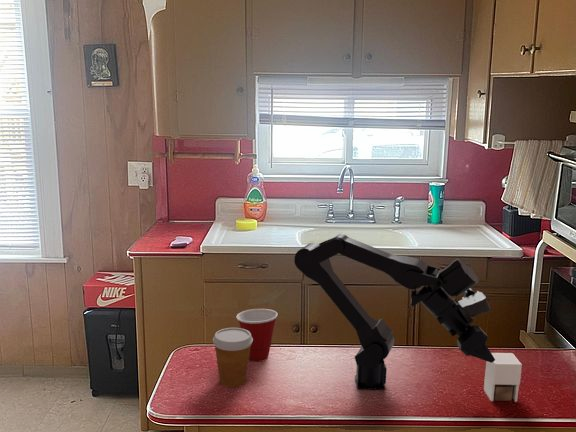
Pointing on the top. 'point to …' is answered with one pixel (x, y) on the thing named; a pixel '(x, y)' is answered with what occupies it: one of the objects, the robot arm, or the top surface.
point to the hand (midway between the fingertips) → (487, 352)
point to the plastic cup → (258, 331)
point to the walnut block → (503, 392)
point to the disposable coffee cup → (232, 355)
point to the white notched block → (502, 374)
